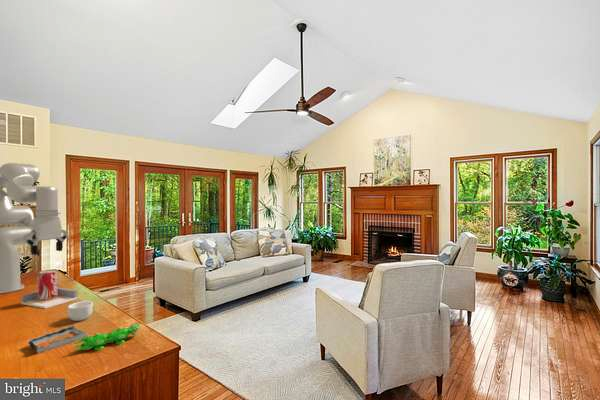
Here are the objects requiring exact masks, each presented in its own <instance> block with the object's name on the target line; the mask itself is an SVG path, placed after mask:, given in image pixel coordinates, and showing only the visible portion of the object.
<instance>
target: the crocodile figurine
mask: <svg viewBox="0 0 600 400" xmlns="http://www.w3.org/2000/svg"><path fill="white" fill-rule="evenodd" d="M140 328H141V325H138V324H131V325H130V326H129V327H122V328H121V327H118V328H117V329H115V330H112V331H111V330H110V331H109V332H106V333H104V332H102V333H100V334H99V333H94V335H86V337H85V338H82V339H80V340H77V341H74V342H72V343H73V344H76V345H74V346H73V347H72V348H73V350H74V351H81V350H82V351H83V350H90V349H93V348H94V350H93V351H100V349H101V350H102V349H105V345H106V344H107V343H114V342H115V344H116V345H121V344H120V343H122V344H124V343H125V340H126V339H127V337H129V335H132V336H136V333H137V331H138V330H139V329H140ZM122 339H124V340H122ZM81 342H82V343H81ZM80 343H81V344H80Z"/></svg>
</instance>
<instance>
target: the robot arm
mask: <svg viewBox="0 0 600 400" xmlns="http://www.w3.org/2000/svg"><path fill="white" fill-rule="evenodd" d="M40 174H41V173H40V170H39V168H38V167H37V166H36V165H34V164H30V163H29V164H28V163H18V162H8V163H7V162H6V163H5V164H3V165H0V226H2V227H0V294H5V293H6V294H7V293H12V292H17V291H20V290H23V289H25V284H22V283H21V254H20V252H19V250H18V249H17V248H15V247H14V246H18V245H29V246H30V253H31V255H34V256H38V254H39V246H38V243H39V242H41V241H49V240H50V241H51V240H56V242H55V251H57V252H62V251H63V248H64V247H63V246H64V245H63V244H64V242H65V240H66V239H67V238H68V235H69V231H68V230H64V229H62V224H61V218H60V216H59V215H61V211H59V208H58V206H59V205H58V204H59V203H58V202H59V201H58V198H59V197H58V195H59V194H58V193H59V192H58V188H57V187H55V186H43V185H42V186H40V185H39V186H38V185H34V183H35V182H36V181H38V179H40ZM2 188H6V190H3V189H2ZM13 201H14V202H16V203H19V204H28V203H31V204H32V203H33V204H35V215H34V212H33V209H32V208H30V207H29V206H27V205H14V204H13ZM9 225H13V226H9Z"/></svg>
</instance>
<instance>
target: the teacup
mask: <svg viewBox="0 0 600 400" xmlns="http://www.w3.org/2000/svg"><path fill="white" fill-rule="evenodd" d="M93 307H94V304H93V301H90V300H85V301H78V302H74V303H70V304H69V305H68V306H67V315H68V318H69V319H70V320H71V321H73V322H80V321H84V320H87V319H88V318H90V316H91V315H92V313H93V309H94V308H93Z"/></svg>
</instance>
